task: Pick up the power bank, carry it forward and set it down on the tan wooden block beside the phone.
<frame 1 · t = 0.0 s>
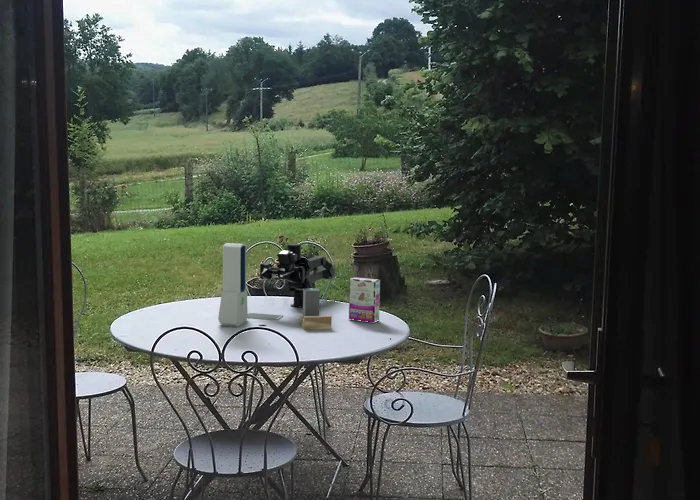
hand: (272, 276, 287), 17 cm above the table, tool horizontal, fingers open, 9 cm apart
tan wooden block: (315, 326, 278), on the table
electronic device: (233, 323, 280), on the table
phone: (263, 318, 291), on the table
power bank: (310, 320, 288), on the table
candy bar box: (363, 321, 289), on the table
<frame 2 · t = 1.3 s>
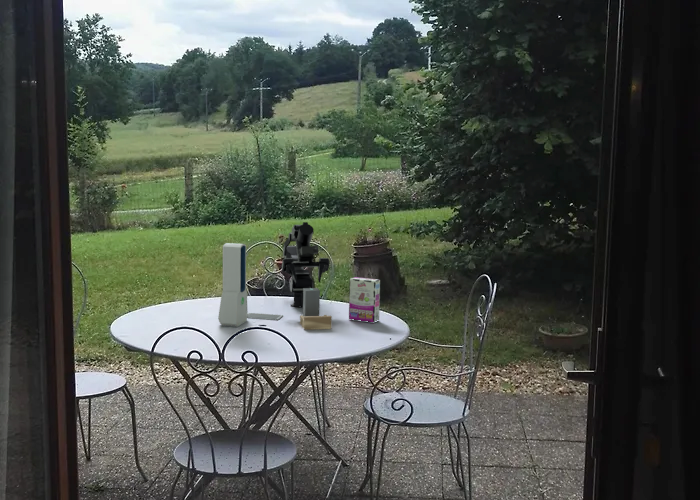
hand: (308, 282, 294), 13 cm above the table, tool tilted 45°, fingers open, 9 cm apart
nothing on the table moved.
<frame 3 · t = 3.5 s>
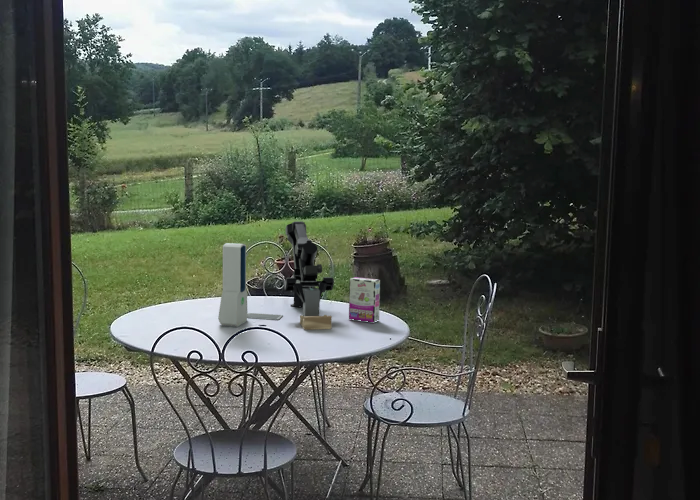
hand: (311, 302, 286), 7 cm above the table, tool tilted 45°, fingers closed on power bank, 5 cm apart
power bank: (310, 320, 288), on the table, touching gripper
everything else where it was.
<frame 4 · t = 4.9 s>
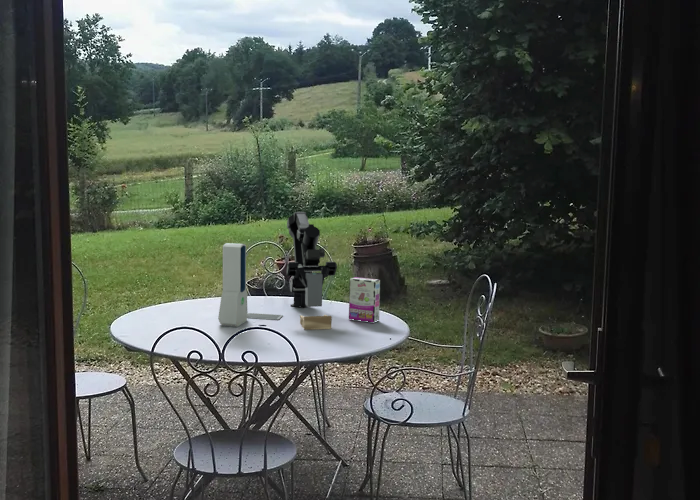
hand: (314, 287, 280), 14 cm above the table, tool tilted 45°, fingers closed on power bank, 5 cm apart
power bank: (313, 305, 282), point 7 cm above the table, touching gripper
everything else where it was.
when the fingers open (8 cm above the table, at t = 6.5 s): power bank stays where it is, resting on tan wooden block.
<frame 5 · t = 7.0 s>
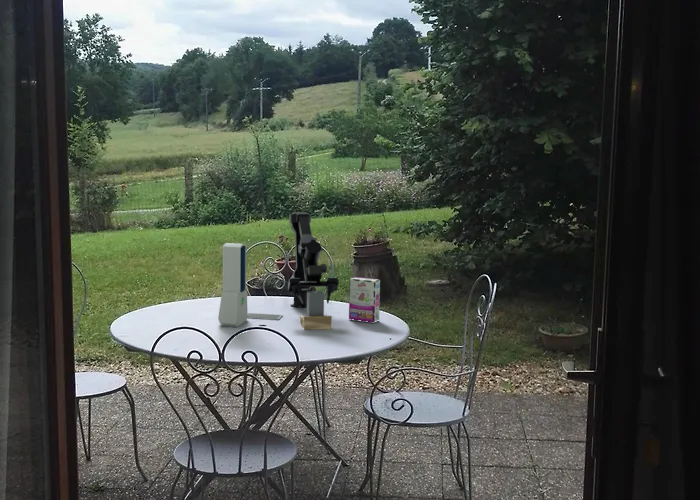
hand: (315, 303, 277), 9 cm above the table, tool tilted 45°, fingers open, 9 cm apart
power bank: (315, 323, 279), point 1 cm above the table, touching tan wooden block
everything else where it was.
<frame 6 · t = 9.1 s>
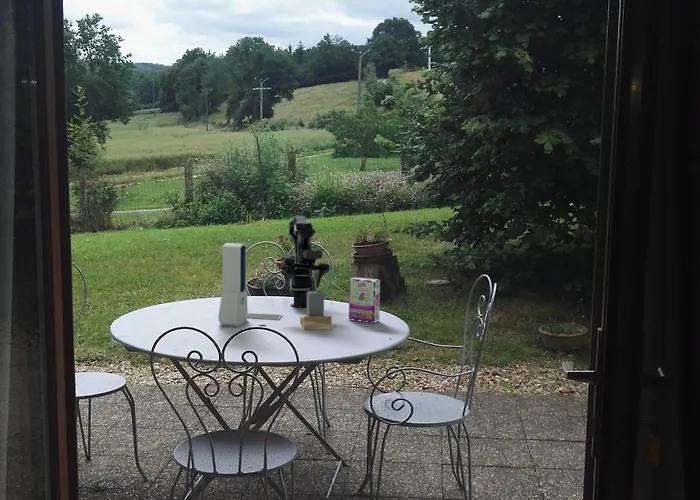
hand: (306, 286, 288), 13 cm above the table, tool tilted 35°, fingers open, 9 cm apart
nothing on the table moved.
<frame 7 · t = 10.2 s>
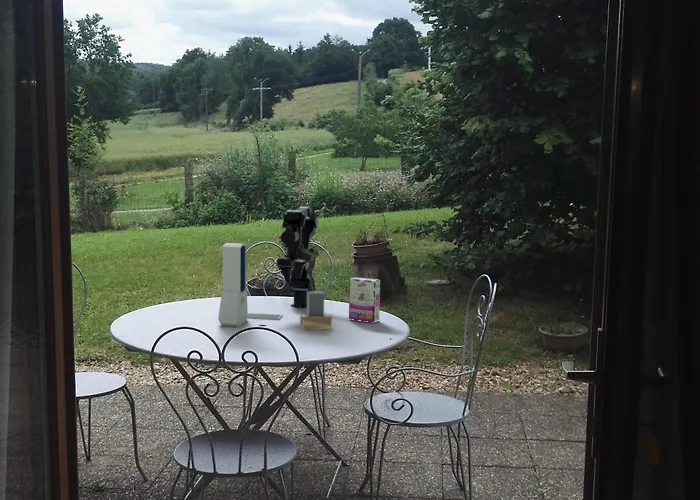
hand: (293, 280, 297), 13 cm above the table, tool pointing down, fingers open, 9 cm apart
nothing on the table moved.
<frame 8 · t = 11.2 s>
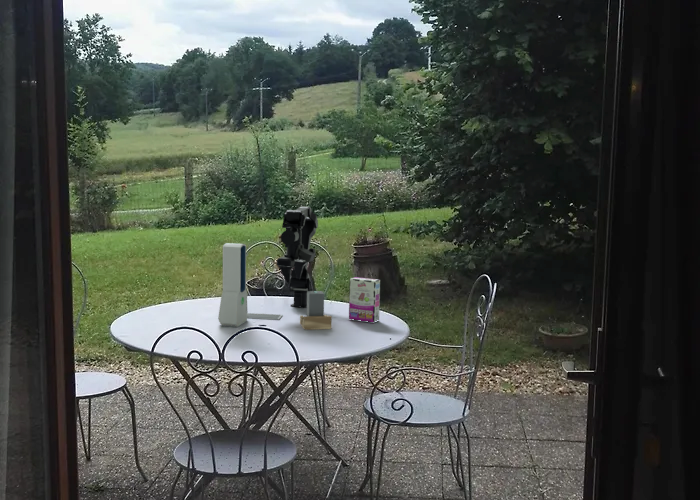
hand: (293, 280, 297), 13 cm above the table, tool pointing down, fingers open, 9 cm apart
nothing on the table moved.
at the end: power bank 0.8 cm from the tan wooden block (horizontally); power bank tilted 0°; the gripper is holding nothing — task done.
